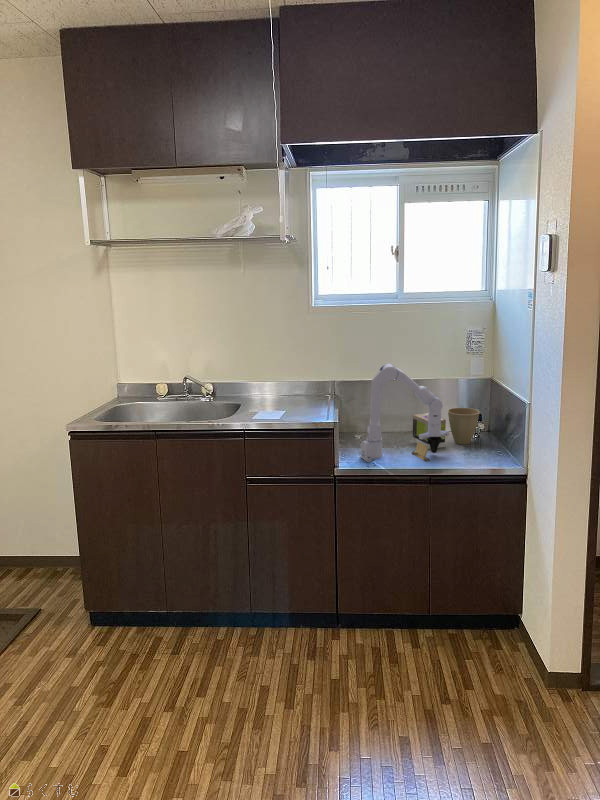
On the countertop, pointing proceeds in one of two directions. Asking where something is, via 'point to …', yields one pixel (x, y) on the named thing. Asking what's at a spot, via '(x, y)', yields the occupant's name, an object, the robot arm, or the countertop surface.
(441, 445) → the tea box
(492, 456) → the countertop surface
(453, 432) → the plant pot
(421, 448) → the tan flat block
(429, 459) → the hinge base
